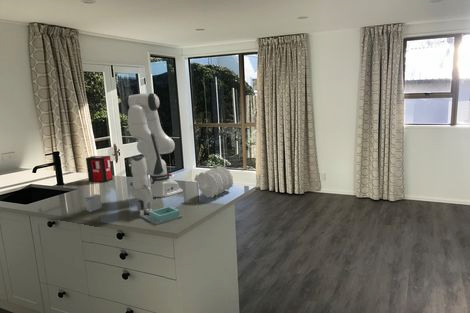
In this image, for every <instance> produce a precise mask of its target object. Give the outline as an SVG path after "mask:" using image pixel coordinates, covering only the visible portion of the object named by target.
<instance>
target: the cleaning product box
mask: <svg viewBox="0 0 470 313" xmlns="http://www.w3.org/2000/svg"><path fill="white" fill-rule="evenodd" d="M111 160H112V159H111V156H110V155H94V156H93V155H92V156H88V157H86V158H85V161H86V169H87V178H88V183H108V182H110V181H113V178H114V177H113V170H112V169H113V168H112V161H111Z"/></svg>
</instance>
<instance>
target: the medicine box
mask: <svg viewBox="0 0 470 313" xmlns="http://www.w3.org/2000/svg"><path fill="white" fill-rule="evenodd" d="M84 200H85V208H86V212H89V213H92V212H95V211H97V210H100V209H103V207H102V199H101V194H96V193H95V194H92V195H88V196H86V197H84Z"/></svg>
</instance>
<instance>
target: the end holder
mask: <svg viewBox="0 0 470 313" xmlns="http://www.w3.org/2000/svg"><path fill="white" fill-rule="evenodd" d="M149 211H150V210H149ZM168 212H170V213H168ZM164 213H166V214H164ZM161 214H163V215H161ZM180 215H181V213H180V209H177V208H175V207H172V206H170V205H168V206H166V207H162V208H157V209H154V211H153V210H152V211H150V217H152V218H154V219H156V220H158V221H163V220H167V219H170V218H174V217H177V216H180Z"/></svg>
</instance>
